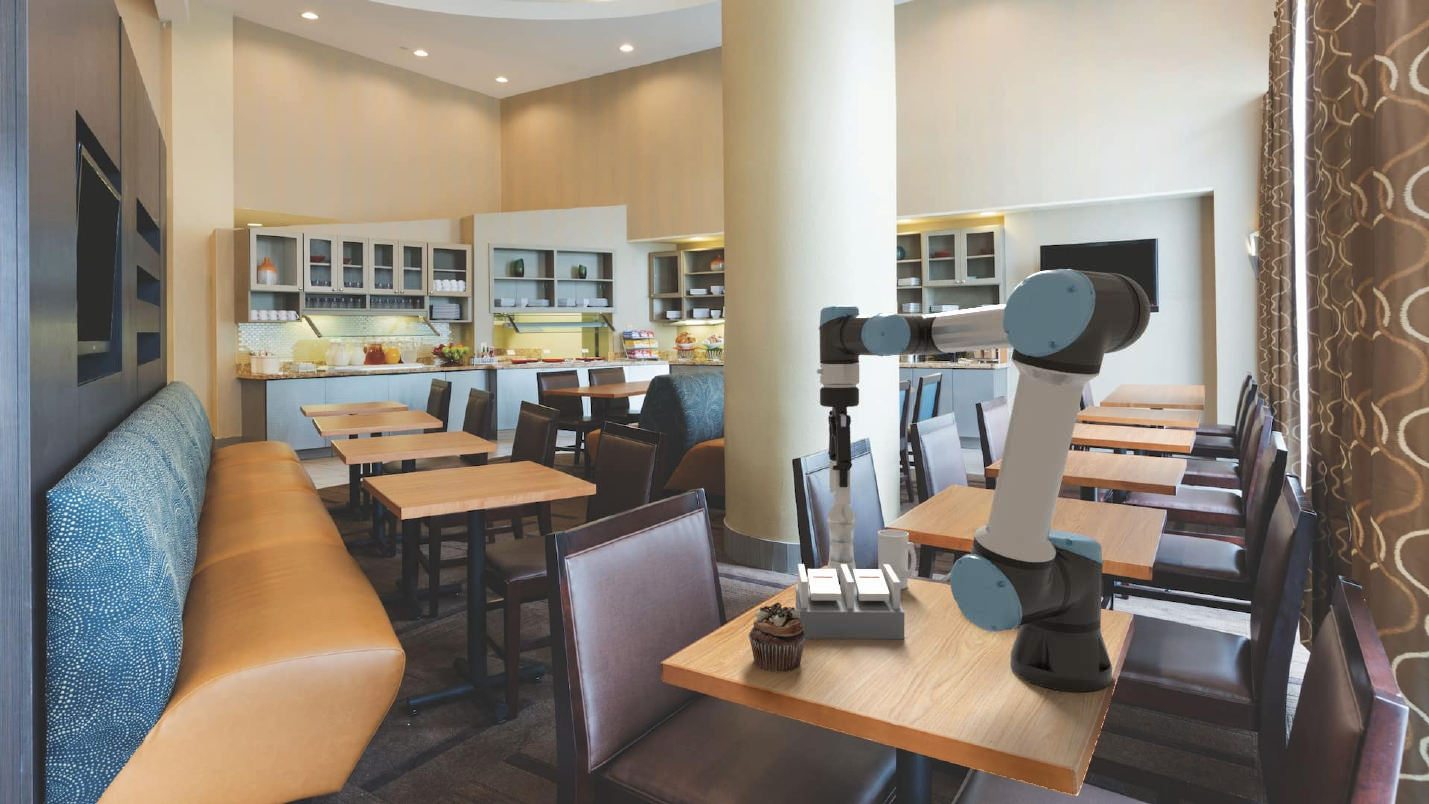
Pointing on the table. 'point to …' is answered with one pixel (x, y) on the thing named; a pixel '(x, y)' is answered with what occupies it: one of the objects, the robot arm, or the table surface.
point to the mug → (896, 554)
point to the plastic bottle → (841, 537)
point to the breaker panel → (851, 610)
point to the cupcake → (777, 638)
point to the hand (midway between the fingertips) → (839, 497)
